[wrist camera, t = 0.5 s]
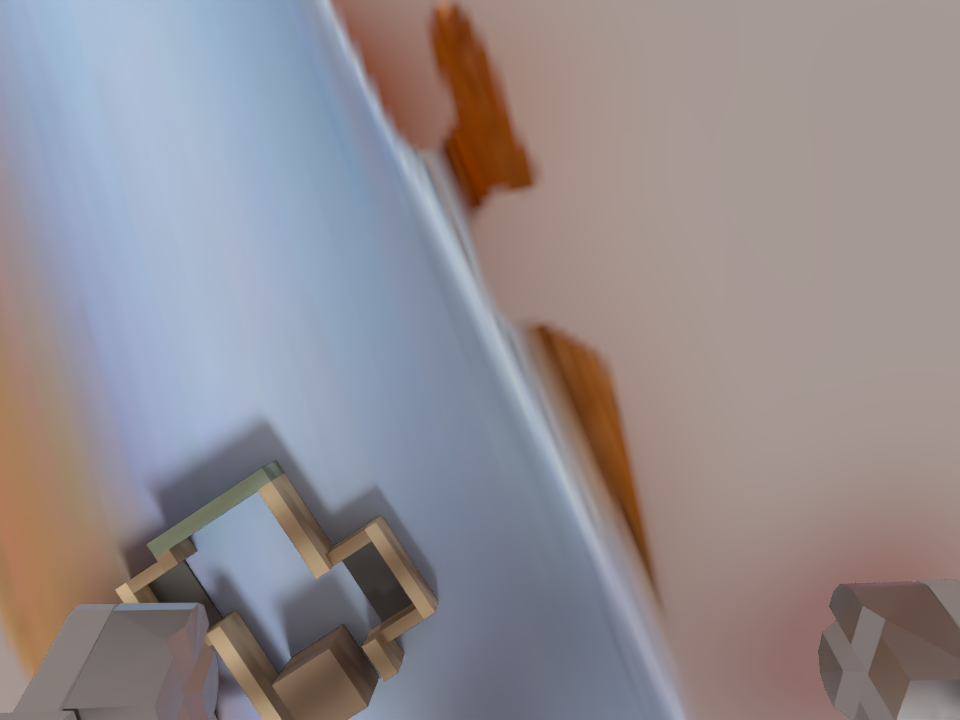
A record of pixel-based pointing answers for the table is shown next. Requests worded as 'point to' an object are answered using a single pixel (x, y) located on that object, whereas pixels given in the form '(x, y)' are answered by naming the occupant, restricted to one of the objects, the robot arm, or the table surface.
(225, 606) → the table surface
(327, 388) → the table surface
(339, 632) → the block
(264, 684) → the wooden flat frame
